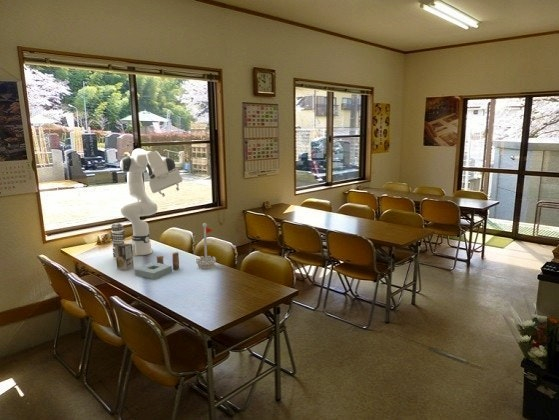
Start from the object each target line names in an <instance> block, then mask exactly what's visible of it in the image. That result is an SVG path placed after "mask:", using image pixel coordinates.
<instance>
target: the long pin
mask: <svg viewBox="0 0 559 420" xmlns="http://www.w3.org/2000/svg"><path fill="white" fill-rule="evenodd" d="M171 254H172V255H171V256H172V257H171V258H172V271H179V270H180V261H179V260H180V257H179V252H177V251H175V252H174V251H173V252H172V253H171ZM178 269H179V270H178Z"/></svg>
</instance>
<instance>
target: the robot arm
mask: <svg viewBox="0 0 559 420" xmlns="http://www.w3.org/2000/svg"><path fill="white" fill-rule="evenodd" d="M119 167H120V169H121V171H122V172H124V173H126V176H127V177H126V179H127V189H128V194H129V196H131V197H132V198H135V199H137V201H134V202H133V201H132V202H131V201H130V202H126V203H123V204H122V205H121V207H120V212H121V214H122V216H123V217H124V218H125V219H127V220H128V221H129V222H130V223H131V227H132V233H133V234H132V235H130V238H131V240H129V241H128V243H126V244H132V254H133V257H135V256H136V257H137V256H145V255H146V256H147V255H149V254H152V253H153V247H152V243H151V233H150V229H149V224H148V222H146V221H145V220H142V219H140V217H147V216H151V215H155V214H156V213H157V212H158V204H157V203H156V202H155V201H154V200H152V199H150V197H149V195H148V194H147V193H146V189H145V183H144V180H143V174H147V175H148V181H149V183H148V184H149V187H150V188H149V189H150V191H151V192H152V193H153V194H156V193H158V194H160V195H161V196H162V197H166V195H165V193H164V192H162V191H163V190H165V189H168V188H170V187H173V186H176V187H175V189H176V192H178V191H180V188H179V186H180V185H179V183H182V182H183V177H182V176H181V174H180V173H181V172H180V170H179V169H177V168H176V162H175V161H174V160H173V158H171V157H169V156H167V157H166V156H164V155H161V154H160V153H159V152H158V150H152V151H150V152H148V151H147V150H145V149H142V148H135V149H134V150H133V151H132V153H131V156H128V155H127V156H125V157H123V158H121V159H120V162H119Z"/></svg>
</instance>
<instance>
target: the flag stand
mask: <svg viewBox="0 0 559 420" xmlns="http://www.w3.org/2000/svg"><path fill="white" fill-rule="evenodd" d="M207 226H208V224H207V223H206V222H203V224H202V227H203V242H204V245H203V246H204V247H203V248H204V256H202V255H201V256H200V257H197V258H196V259H195V263H196V264H197V268H198V267H199V268H198V269H200V268H201V270H210V269H212V268H213V269H214V267H215V264H216V262H217V258H216V257H215V256H211V255H208V249H207V248H208V246H207V243H208V241H207V234H208V233H210V232H212V231H213V229H211V228H208V227H207Z"/></svg>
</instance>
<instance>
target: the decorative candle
mask: <svg viewBox="0 0 559 420" xmlns="http://www.w3.org/2000/svg"><path fill="white" fill-rule="evenodd" d="M110 227H111V231H110V236H111V242H112V243H111V244H112V257H113V260H116V251H115V245H118V244H120V243H125V240H126V239H125V231H124V225H123V224H122V223H121V222H115V223H112V224H111V226H110Z"/></svg>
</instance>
